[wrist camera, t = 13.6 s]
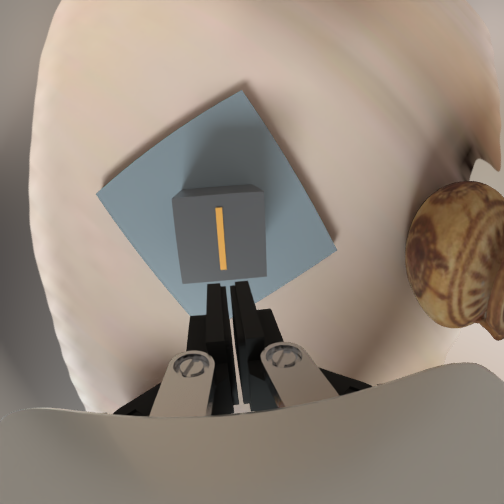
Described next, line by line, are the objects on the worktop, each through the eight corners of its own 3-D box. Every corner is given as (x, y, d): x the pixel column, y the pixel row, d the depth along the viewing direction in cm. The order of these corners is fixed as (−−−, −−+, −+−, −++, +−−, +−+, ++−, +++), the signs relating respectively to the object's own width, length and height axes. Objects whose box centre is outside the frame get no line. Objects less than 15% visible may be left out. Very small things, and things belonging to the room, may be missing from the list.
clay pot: (365, 224, 28) (546, 239, 10) (426, 164, 34) (541, 160, 17) (397, 339, 35) (514, 380, 17) (446, 264, 41) (540, 280, 23)
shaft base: (331, 246, 32) (355, 264, 26) (205, 326, 33) (205, 357, 27) (240, 93, 25) (247, 77, 19) (101, 192, 26) (76, 200, 20)
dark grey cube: (252, 184, 27) (264, 191, 21) (255, 251, 29) (267, 277, 23) (181, 189, 26) (171, 198, 20) (188, 257, 28) (182, 284, 22)
